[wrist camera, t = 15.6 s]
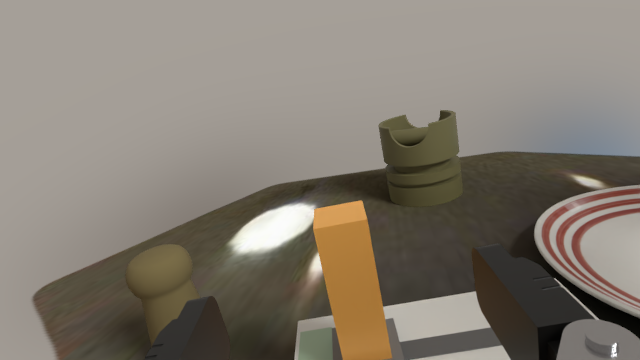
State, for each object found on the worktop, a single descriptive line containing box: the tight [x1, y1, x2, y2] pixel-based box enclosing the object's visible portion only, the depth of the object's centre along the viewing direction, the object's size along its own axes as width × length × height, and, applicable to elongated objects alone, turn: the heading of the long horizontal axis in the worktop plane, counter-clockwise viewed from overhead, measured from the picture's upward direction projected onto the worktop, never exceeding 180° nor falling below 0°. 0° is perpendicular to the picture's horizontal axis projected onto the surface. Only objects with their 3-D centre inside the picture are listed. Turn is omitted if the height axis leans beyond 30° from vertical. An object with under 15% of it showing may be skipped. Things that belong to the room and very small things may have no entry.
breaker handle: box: [313, 200, 404, 360], centre depth 24 cm, size 4×4×10 cm
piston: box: [379, 110, 463, 207], centre depth 60 cm, size 11×12×11 cm
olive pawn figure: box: [125, 244, 200, 347], centre depth 33 cm, size 6×6×11 cm
